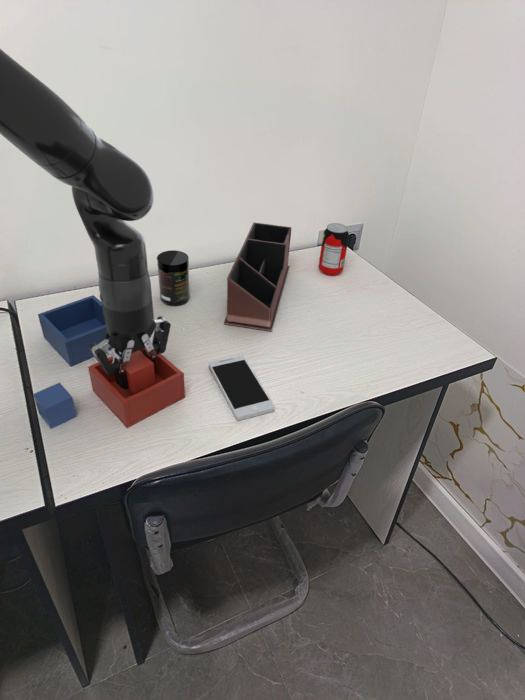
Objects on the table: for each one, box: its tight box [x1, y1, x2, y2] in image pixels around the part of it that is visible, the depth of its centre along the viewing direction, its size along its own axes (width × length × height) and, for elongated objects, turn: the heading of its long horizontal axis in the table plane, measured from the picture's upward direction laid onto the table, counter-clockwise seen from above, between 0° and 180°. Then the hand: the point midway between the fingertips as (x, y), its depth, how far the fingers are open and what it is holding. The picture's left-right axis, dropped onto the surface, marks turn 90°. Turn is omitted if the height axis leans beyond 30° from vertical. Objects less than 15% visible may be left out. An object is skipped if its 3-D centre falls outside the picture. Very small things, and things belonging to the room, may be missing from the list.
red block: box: [126, 350, 155, 394], centre depth 84 cm, size 4×4×4 cm
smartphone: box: [208, 354, 275, 421], centre depth 90 cm, size 7×16×1 cm, turn 23°
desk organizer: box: [223, 222, 292, 332], centre depth 113 cm, size 10×29×11 cm, turn 170°
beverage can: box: [318, 222, 350, 277], centre depth 124 cm, size 6×6×12 cm
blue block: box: [32, 382, 78, 429], centre depth 81 cm, size 4×4×4 cm
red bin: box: [87, 349, 186, 429], centre depth 86 cm, size 12×12×6 cm
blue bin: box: [37, 294, 113, 367], centre depth 97 cm, size 12×12×6 cm
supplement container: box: [156, 250, 191, 307], centre depth 109 cm, size 7×7×10 cm
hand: (137, 380), depth 85 cm, fingers closed on red block, 4 cm apart
